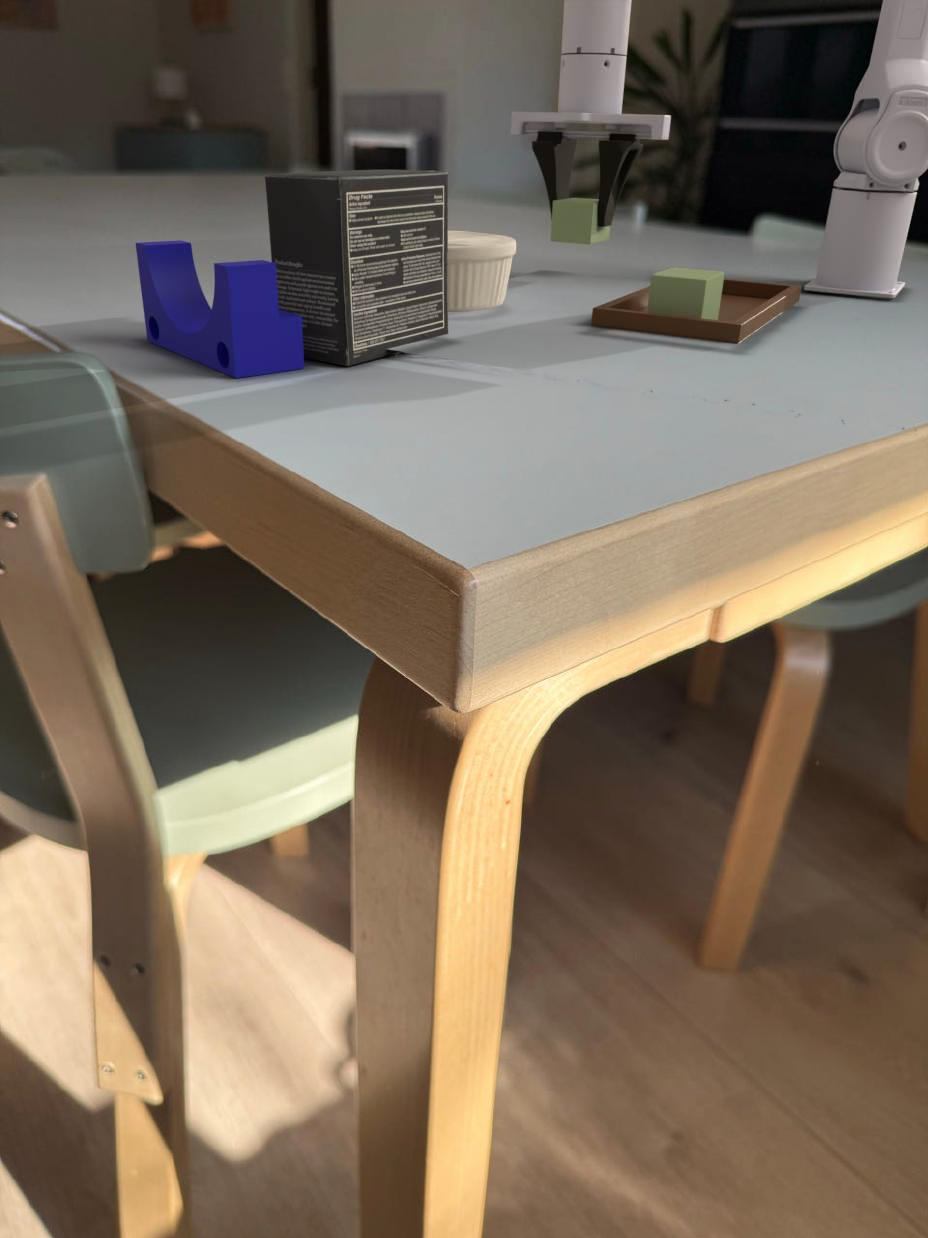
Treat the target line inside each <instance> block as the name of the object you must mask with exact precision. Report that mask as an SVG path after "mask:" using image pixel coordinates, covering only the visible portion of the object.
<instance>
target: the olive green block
mask: <svg viewBox="0 0 928 1238" xmlns="http://www.w3.org/2000/svg"><path fill="white" fill-rule="evenodd" d="M598 201H599V198H582V197H569V199H561V200H554V201H553V209H552V220H551V226H550V227H551V228H550V242H552V243H553V242H554V243H555V242H556V243H565V244H567V243H568V244H579V245H594V244H597V243H603V242H607V241H609V240H610V234H611V226H606V227H599V226H598V221H597V218H598Z"/></svg>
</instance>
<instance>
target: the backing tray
mask: <svg viewBox="0 0 928 1238" xmlns="http://www.w3.org/2000/svg"><path fill="white" fill-rule="evenodd" d="M649 291H650V285H648V286H646V287H644V288H641V289H638V290H635V291H633V292H630V293H628V294H626V295H623V296H621V297H618V298H616V299H613V300H610V301H608V302H605V303H603V304H600V305H597V306H594V307H592V313H591V323H590V324H591V325H590V326H591V327H595V328H596V327H597V328H604V329H605V328H606V329H613V330H622V331H630V332H638V333H645V334H655V335H663V336H670V337H677V338H679V337H680V338H686V339H687V338H688V339H693V340H695V339H696V340H704V341H712V342H720V343H726V344H727V343H728V344H735V345H739V344H741V343H742V342H744V341H745V340H746V339H747V338H749V337H751V336H752V335H754V334H755V333H756V332H757V331H760V329H761V328H763V327H764V326H766V325H767V324H769V323H770V322H772V321H773V320H774V319H776V318H778V317H779V316H780V315H781V314H783V313H784V312H786V311H787V310H788V309H790V308H791V307H793V306H795V305H796V304H797V303H799V302H800V298H801V293H802V285H798V284H790V283H789V284H788V283H777V282H767V281H758V280H757V281H756V280H747V279H735V278H727V277H726V278H725V277H724V281H723V288H722V295H721V301H720V308H719V315H718V320H712V319H703V318H694V317H685V316H677V315H668V314H659V313H650V312H647V308H648V300H649Z"/></svg>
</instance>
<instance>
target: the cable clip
mask: <svg viewBox="0 0 928 1238" xmlns="http://www.w3.org/2000/svg"><path fill="white" fill-rule="evenodd" d="M135 250H136V258H137V259H136V260H137V266H138V275H139V284H140V291H141V299H142V307H143V316H144V323H145V324H144V325H145V332H146V340H147V342H149V343H151V344H154V345H156V346H157V347H161V348H163V349H166V350H168V351H171V352H173V353H175V354H177V355H180V356H182V357H183V358H186V359H189V360H191V361H195V362H197V363H199V364H201V365H203V366H206V367H208V368H211V369H213V370H216V371H217V372H220V373H223V374H224V375H227V376H229V377H233V378H235V379H241V378H247V377H254V376H260V375H261V376H262V375H268V374H274V373H275V374H276V373H281V372H289V371H295V370H296V371H297V370H303V369H305V357H304V351H303V330H302V316H299V315H296V314H293V313H289V312H286V311H283V310H279V308H278V291H277V274H276V263H273V262H272V261H269V260H265V259H258V260H257V259H255V260H243V261H242V260H241V261H225V262H214V263H213V272H214V286H213V287H214V288H213V299H212V306H210V304H209V302H208V300H207V298H206V296H205V294H204V292H203V288H202V287H201V283H200V280H199V278H198V273H197V269H196V265H195V259H194V254H193V246H192V242H189V241H185V240H161V241H160V240H159V241H144V242H143V241H139V242H135Z"/></svg>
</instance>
